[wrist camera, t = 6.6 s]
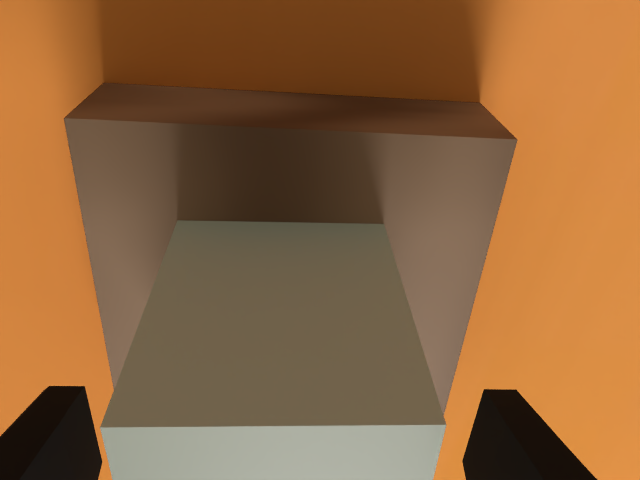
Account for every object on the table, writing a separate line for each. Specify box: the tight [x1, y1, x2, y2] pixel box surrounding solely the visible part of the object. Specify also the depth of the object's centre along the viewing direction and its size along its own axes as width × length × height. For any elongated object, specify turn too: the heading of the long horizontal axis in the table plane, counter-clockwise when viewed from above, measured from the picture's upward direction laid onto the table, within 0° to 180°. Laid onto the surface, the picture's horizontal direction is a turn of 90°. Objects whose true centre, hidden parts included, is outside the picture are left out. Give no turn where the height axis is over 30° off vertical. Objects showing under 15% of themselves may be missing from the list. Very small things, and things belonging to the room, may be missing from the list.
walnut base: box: [64, 83, 517, 416], centre depth 14 cm, size 9×9×3 cm
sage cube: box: [100, 220, 446, 480], centre depth 11 cm, size 4×4×6 cm
